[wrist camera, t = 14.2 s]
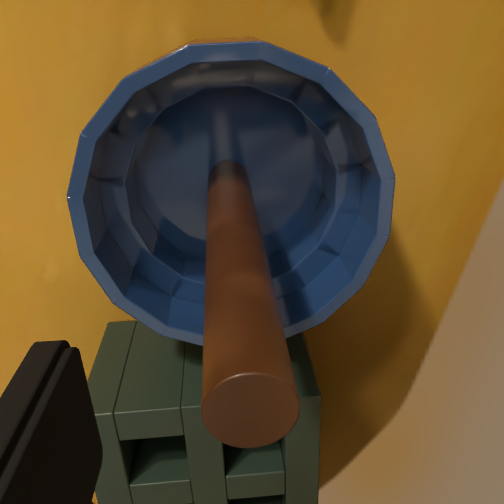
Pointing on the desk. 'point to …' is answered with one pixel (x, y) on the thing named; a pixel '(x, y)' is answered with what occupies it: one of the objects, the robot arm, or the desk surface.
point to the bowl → (259, 173)
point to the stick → (242, 324)
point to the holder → (190, 429)
